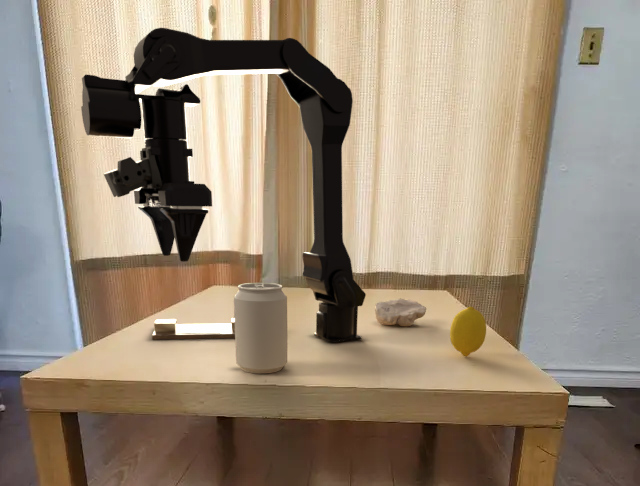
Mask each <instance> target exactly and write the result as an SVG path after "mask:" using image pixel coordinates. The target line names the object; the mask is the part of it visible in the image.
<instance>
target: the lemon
mask: <svg viewBox="0 0 640 486" xmlns="http://www.w3.org/2000/svg"><path fill="white" fill-rule="evenodd" d="M486 335H487V322H486V319H485V317H484V315H483V314H482V312H481V311H479V310H477V309H475V308H474V306H471V305H470V306H468V307H467V308H464V309H461V310H460V311H459V312H457V313H456V315H454V317H453V319H452V321H451V324H450V330H449V338H450V343H451V345H452V347H453V348H454V349H455V350H456V351H457V352H459V353H460V354H461V355H462V356H463V357H468V356H470V355H471V354H472V353H475V352H476V351H478V350H479V349H480V348H482V346H483V344H484V342H485V339H486Z"/></svg>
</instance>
